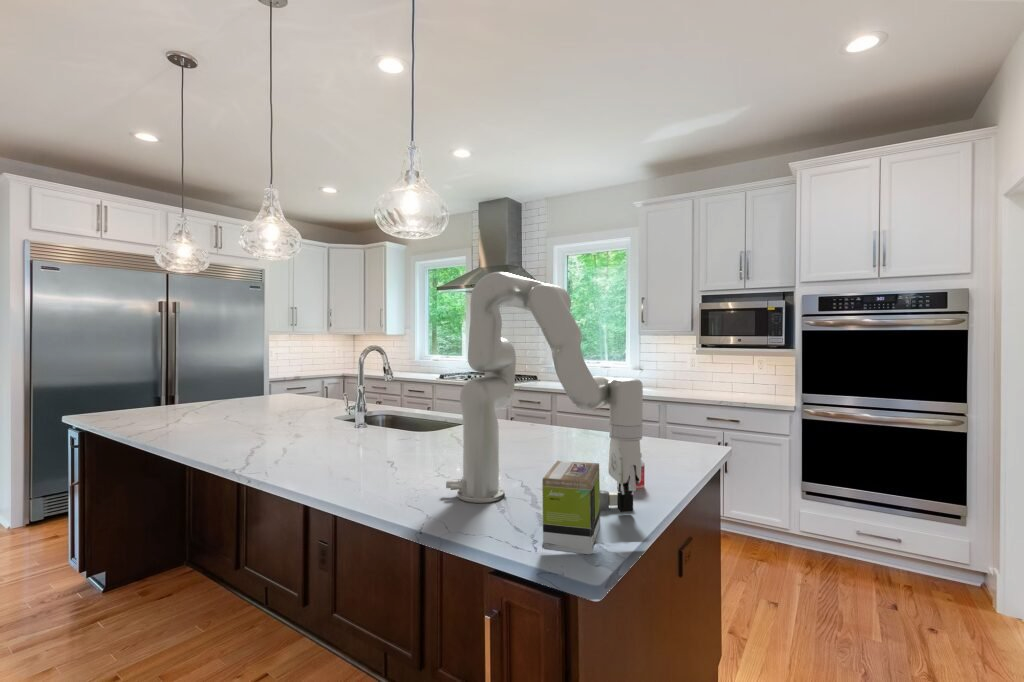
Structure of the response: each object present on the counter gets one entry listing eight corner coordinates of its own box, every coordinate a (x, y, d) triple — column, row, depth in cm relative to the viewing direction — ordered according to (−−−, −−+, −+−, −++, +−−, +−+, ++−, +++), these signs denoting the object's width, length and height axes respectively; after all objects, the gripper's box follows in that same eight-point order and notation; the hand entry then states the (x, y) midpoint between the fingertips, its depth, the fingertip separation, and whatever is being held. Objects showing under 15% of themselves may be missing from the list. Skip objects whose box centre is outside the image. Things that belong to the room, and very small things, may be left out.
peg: (598, 510, 119) (598, 494, 119) (594, 506, 122) (594, 490, 122) (634, 509, 120) (634, 493, 120) (629, 505, 123) (629, 489, 123)
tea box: (556, 523, 115) (557, 458, 115) (601, 528, 112) (601, 462, 112) (541, 550, 100) (541, 475, 100) (591, 556, 97) (592, 480, 97)
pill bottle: (649, 492, 138) (649, 452, 138) (633, 496, 135) (633, 455, 135) (632, 487, 143) (632, 448, 143) (616, 490, 140) (617, 451, 140)
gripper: (600, 426, 124) (600, 500, 124) (620, 438, 109) (619, 522, 109) (630, 425, 124) (630, 499, 124) (653, 437, 110) (653, 521, 110)
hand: (625, 510), depth 117 cm, fingers closed
